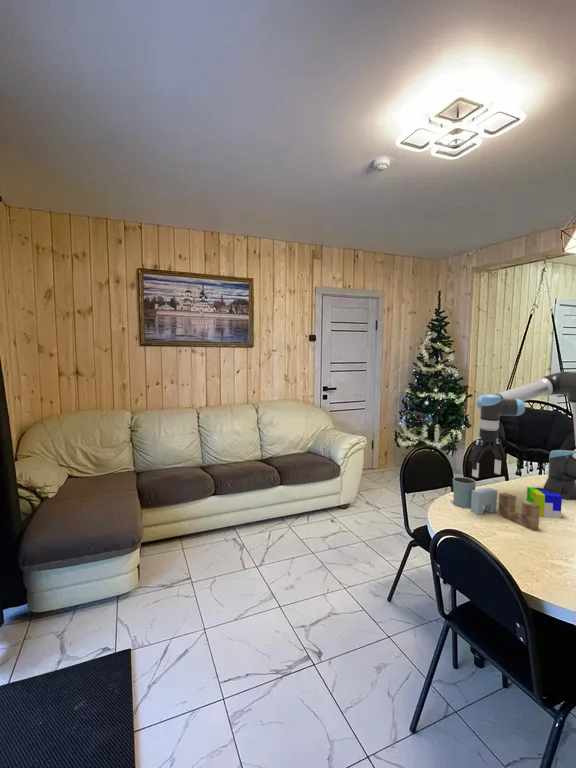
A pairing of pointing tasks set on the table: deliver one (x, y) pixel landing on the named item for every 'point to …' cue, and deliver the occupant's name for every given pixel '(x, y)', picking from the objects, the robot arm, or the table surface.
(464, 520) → the table surface
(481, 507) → the grey arch block
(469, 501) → the grey cup
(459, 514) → the table surface
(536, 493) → the puzzle toy
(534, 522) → the walnut upright
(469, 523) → the table surface
